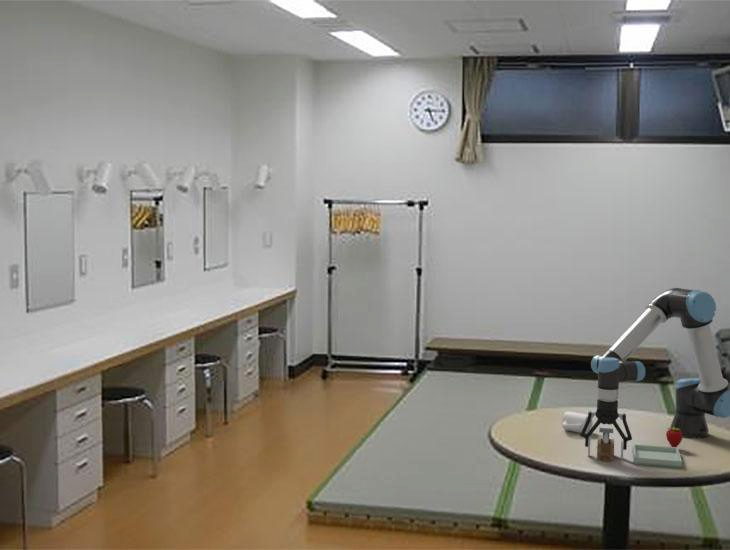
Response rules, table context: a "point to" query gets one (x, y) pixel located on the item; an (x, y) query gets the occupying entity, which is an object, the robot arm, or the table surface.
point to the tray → (656, 456)
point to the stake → (606, 434)
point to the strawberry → (674, 436)
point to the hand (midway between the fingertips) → (605, 456)
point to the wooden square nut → (605, 450)
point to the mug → (575, 422)
